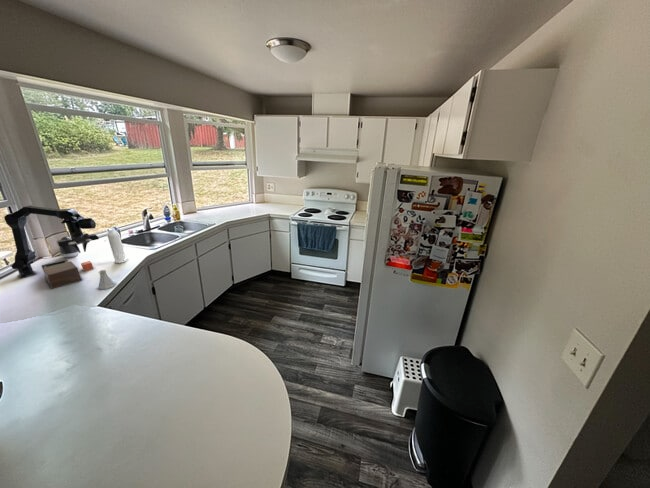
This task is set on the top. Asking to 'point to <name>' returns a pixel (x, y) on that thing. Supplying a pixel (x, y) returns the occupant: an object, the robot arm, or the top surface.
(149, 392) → the top surface
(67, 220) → the robot arm
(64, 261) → the drawer
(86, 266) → the block
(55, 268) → the cabinet
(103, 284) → the flask
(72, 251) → the black rounded dome
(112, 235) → the white statue
